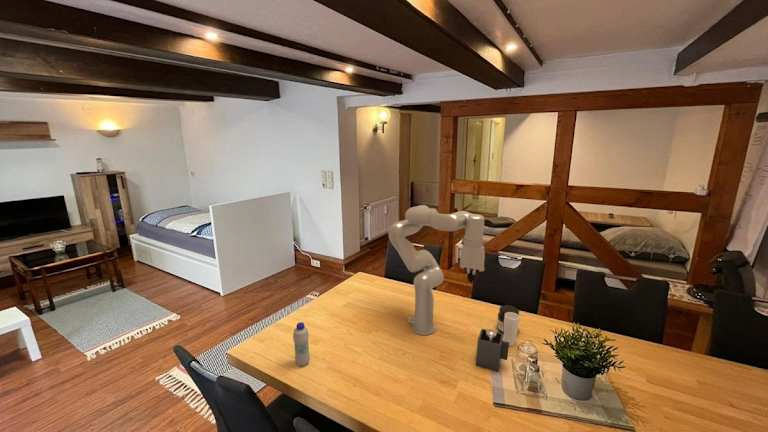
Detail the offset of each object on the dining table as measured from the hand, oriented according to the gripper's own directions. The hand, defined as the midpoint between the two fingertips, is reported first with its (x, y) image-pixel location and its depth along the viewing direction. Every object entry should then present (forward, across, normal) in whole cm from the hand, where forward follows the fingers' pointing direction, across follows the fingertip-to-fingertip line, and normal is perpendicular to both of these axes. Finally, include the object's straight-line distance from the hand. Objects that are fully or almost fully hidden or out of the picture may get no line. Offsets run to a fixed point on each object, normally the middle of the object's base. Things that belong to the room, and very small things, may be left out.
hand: (470, 281), depth 150 cm
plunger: (+32, +11, -5) cm, 34 cm away
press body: (+35, +12, -5) cm, 38 cm away
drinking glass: (+35, +18, +14) cm, 42 cm away
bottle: (+35, -64, -41) cm, 84 cm away
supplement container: (+35, +16, +25) cm, 46 cm away
